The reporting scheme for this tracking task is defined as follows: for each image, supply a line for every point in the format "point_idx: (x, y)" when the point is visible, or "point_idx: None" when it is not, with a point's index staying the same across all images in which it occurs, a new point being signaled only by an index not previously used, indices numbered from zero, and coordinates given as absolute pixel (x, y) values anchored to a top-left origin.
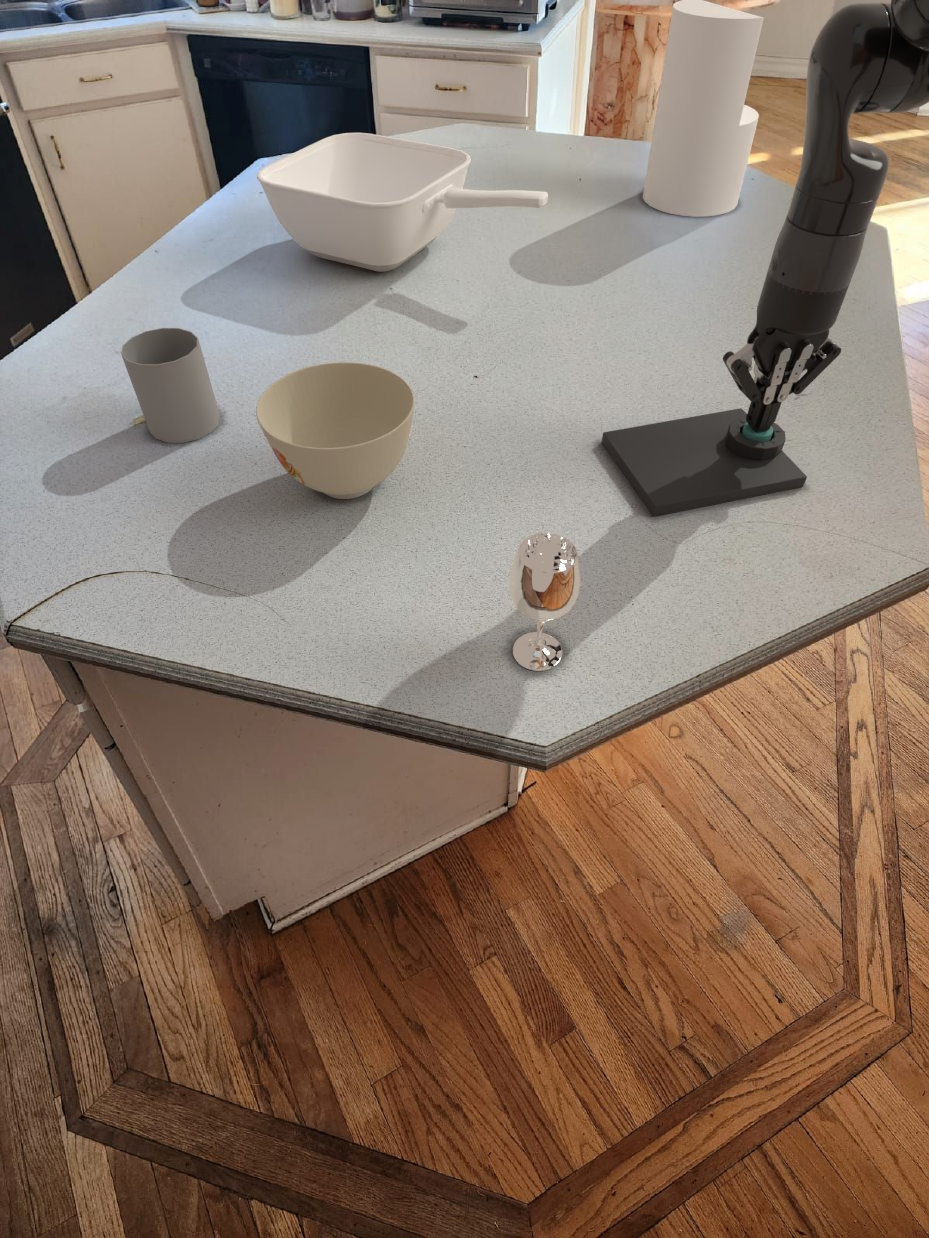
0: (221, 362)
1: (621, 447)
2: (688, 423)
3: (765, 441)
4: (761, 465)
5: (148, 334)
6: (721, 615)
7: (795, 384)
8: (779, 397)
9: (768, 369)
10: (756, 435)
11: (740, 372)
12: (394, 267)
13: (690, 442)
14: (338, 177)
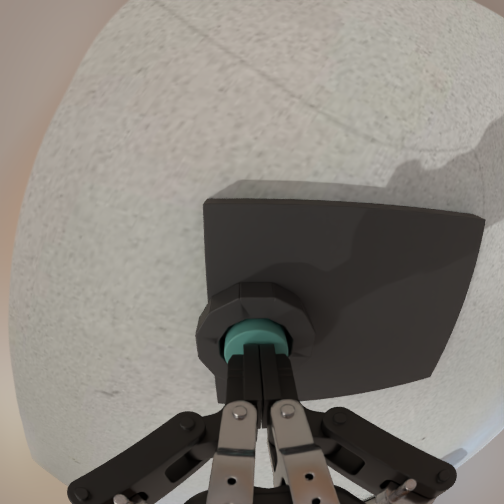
0: (494, 422)
1: (438, 349)
2: (324, 389)
3: (253, 321)
4: (280, 267)
5: None
6: (467, 30)
7: (198, 440)
8: (251, 413)
9: (338, 494)
10: (277, 336)
11: (433, 468)
12: (373, 501)
13: (357, 352)
14: None
